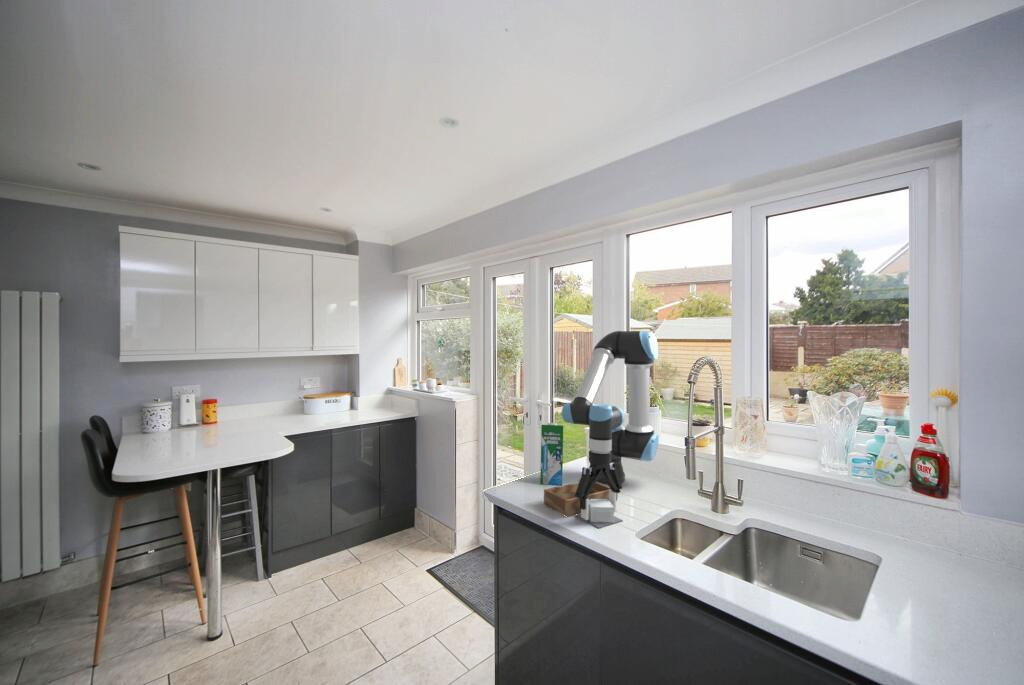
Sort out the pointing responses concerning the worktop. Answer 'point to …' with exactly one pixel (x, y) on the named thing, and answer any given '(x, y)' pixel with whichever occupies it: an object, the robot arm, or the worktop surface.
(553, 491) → the walnut frame
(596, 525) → the rubber pad
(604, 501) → the small box
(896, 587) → the worktop surface
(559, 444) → the milk carton
